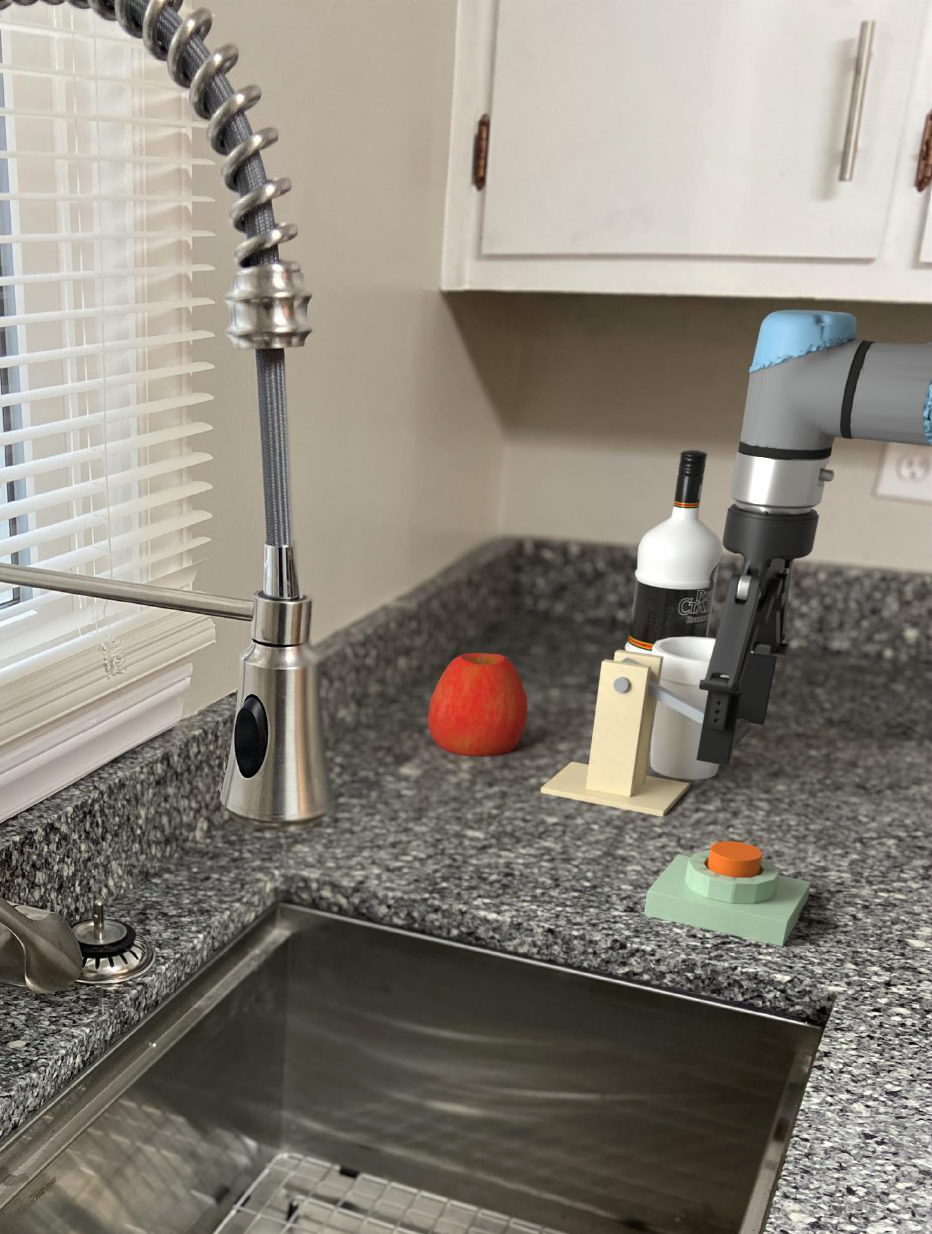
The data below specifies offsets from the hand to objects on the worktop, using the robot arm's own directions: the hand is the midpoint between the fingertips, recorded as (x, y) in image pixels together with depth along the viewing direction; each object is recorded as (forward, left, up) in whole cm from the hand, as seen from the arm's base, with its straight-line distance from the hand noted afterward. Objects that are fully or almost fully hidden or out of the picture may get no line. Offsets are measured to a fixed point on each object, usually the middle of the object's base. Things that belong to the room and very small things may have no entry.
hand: (731, 741), depth 138 cm
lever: (+6, 0, +2) cm, 6 cm away
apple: (+27, -6, -8) cm, 29 cm away
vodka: (+12, -20, -8) cm, 25 cm away
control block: (-6, +21, -8) cm, 23 cm away
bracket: (+10, 0, -8) cm, 13 cm away
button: (-6, +21, -4) cm, 22 cm away
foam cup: (+6, -10, -8) cm, 14 cm away
